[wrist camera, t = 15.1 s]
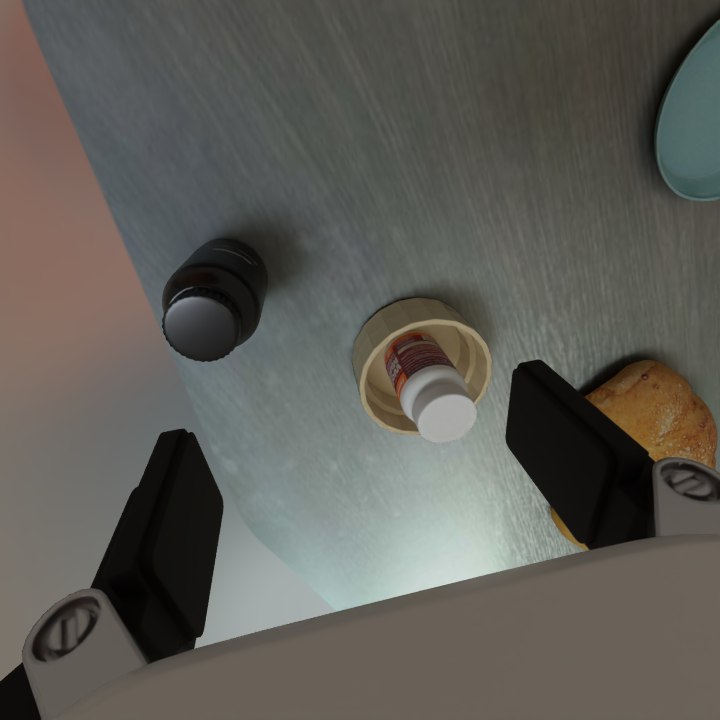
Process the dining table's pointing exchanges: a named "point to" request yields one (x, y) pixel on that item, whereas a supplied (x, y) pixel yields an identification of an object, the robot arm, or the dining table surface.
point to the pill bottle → (429, 387)
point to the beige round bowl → (425, 317)
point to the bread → (655, 416)
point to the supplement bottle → (214, 300)
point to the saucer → (692, 123)
